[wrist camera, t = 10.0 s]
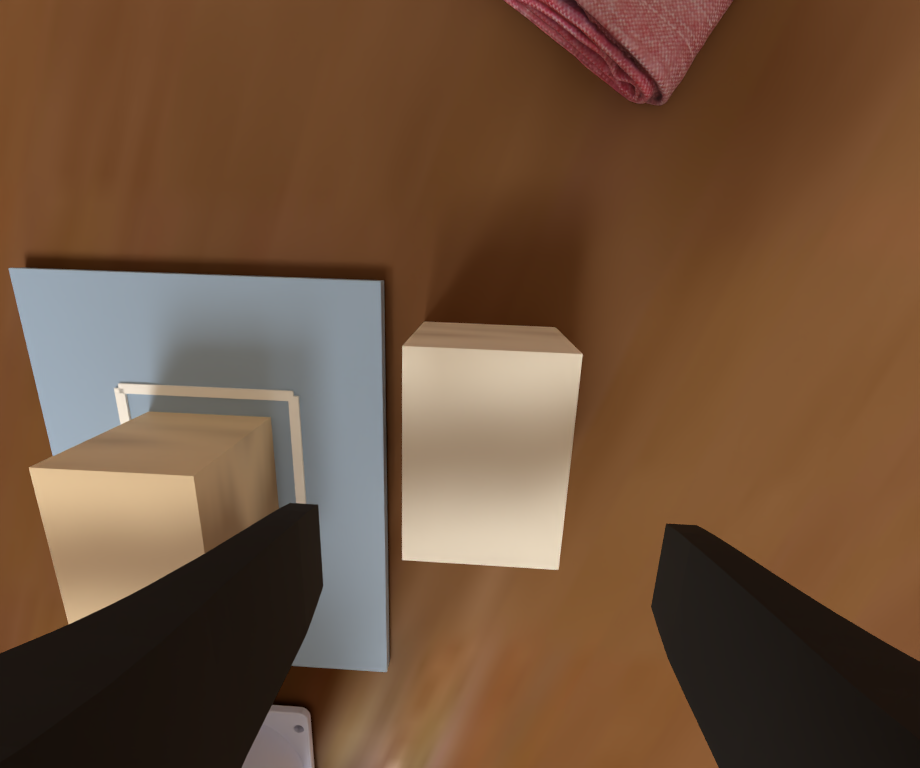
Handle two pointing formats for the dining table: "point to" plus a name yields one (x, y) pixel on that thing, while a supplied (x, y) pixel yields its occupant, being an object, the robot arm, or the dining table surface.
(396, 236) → the dining table surface
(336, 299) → the board
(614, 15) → the dish towel
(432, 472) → the birch brick
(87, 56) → the dining table surface
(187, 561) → the maple brick
